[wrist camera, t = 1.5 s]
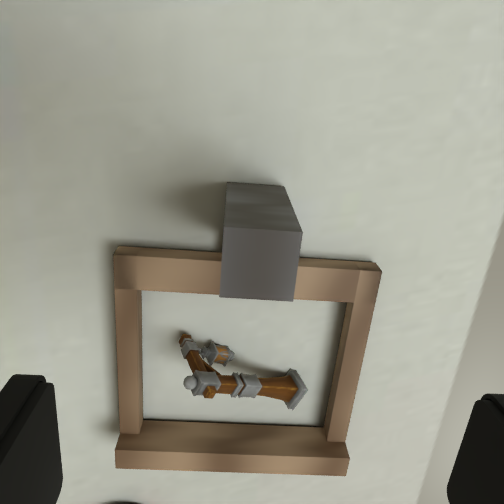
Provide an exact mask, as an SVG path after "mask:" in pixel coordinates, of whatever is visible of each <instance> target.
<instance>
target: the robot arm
mask: <svg viewBox="0 0 504 504" xmlns="http://www.w3.org/2000/svg"><path fill="white" fill-rule="evenodd" d="M62 481H63V473H62V463H61V453H60V442H59V432H58V422H57V411H56V401H55V391H54V385H53V383H46V379H45V377H44V376H42V375H21V374H15V375H13V376H12V377H11V378H10V379H9V381H8V382H7V383H6V385H5V386H4V387H3V389H2V390H1V392H0V504H56V502H57V499H58V497H59V494H60V491H61V487H62ZM447 496H448V500H449V503H450V504H504V394H485V395H483V397H482V398H481V400H477V401H476V402H475V404H474V407H473V410H472V413H471V416H470V419H469V422H468V425H467V428H466V431H465V434H464V437H463V440H462V443H461V446H460V449H459V452H458V455H457V458H456V461H455V464H454V467H453V470H452V473H451V476H450V479H449V482H448V485H447Z"/></svg>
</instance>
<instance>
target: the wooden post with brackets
mask: <svg viewBox="0 0 504 504" xmlns="http://www.w3.org/2000/svg"><path fill="white" fill-rule="evenodd" d="M178 342H179V344H180V347H182V349H181V352H182V354H183V357H184V359H187V361H188V363H189V366H190V368H191V370H192V373H193V375H192V376H187V377H186V378H185V379H184V386H185V388H186V389H189V390H191V391H192V393H193V396H196V395H203V396H204V398H213V397H214V395H215V394H216V393H223V394H230V395H231V397H236V396H237V395H238V397H239V398H240V397H252V398H255V396H256V395H260V396H267V397H271V398H275V399H280V400H283V401H284V402H285V404H286V405H287V407H288V409H292V410H294V408H295V407H296V406H297V404H298V403H299V402H300V400H301V399H302V397H303V396H304V395H305V393H306V392H307V391H308V389H307V387H306V386H305V384H304V382H303V381H302V379H301V378H300V376H299V374H298V373H297V371H296V370H291V369H290V370H289V371H288V373H287V374H286V376H283V377H271V378H258V377H257V375H256V374H255V375H246V374H243V373H241V374H240V375H238V373H234V372H233V374H232V375H231V376H229V375H221V374H220V373H218V372H217V371H216V370H215V369H213V368H212V367H211V365H212V364H213V362H215V363H219V364H223V365H224V366H225V365H226V364H227V362H228V361H231V360H233V359H234V353H233V352H232V351H230V350H229V348H228V346H220V345H215V343H214V341H212V342H211V344H210V345H209V347H207V348H206V347H205V345H204V347H203V349H200V348H198V347H197V345H196V342H193V339H192V338H191V335H187V334H183V335H182V336H181V338H180V340H179V341H178ZM199 350H200V351H199ZM199 353H200V354H201V355H202V358H203V359H204V358H205V357H206V358H207V360H208V363H209V365H208V364H207V363H206V362H205V361H204V360H202V358H201V357H200V355H199Z"/></svg>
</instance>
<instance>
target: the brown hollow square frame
mask: <svg viewBox="0 0 504 504" xmlns="http://www.w3.org/2000/svg"><path fill="white" fill-rule="evenodd" d="M302 233H303V232H302V229H301V227H300V224H299V222H298V219H297V217H296V215H295V212H294V210H293V207H292V205H291V202H290V200H289V197H288V195H287V192H286V190H285V187H284V186H270V185H257V184H244V183H230V182H227V192H226V204H225V217H224V231H223V246H222V253H218V252H203V251H188V250H172V249H157V248H141V247H126V246H118V248H117V249H116V251H115V252H114V254H113V264H114V290H115V316H116V342H117V368H118V393H119V419H120V435H119V438H118V442H117V445H116V448H115V465H116V468H122V469H151V470H181V471H210V472H240V473H269V474H299V475H328V476H346V473H347V469H348V464H349V460H350V457H349V454H348V451H347V447H346V444H345V440H346V436H347V431H348V426H349V422H350V417H351V413H352V408H353V403H354V399H355V394H356V390H357V385H358V380H359V376H360V371H361V367H362V362H363V357H364V353H365V348H366V344H367V339H368V334H369V330H370V325H371V320H372V316H373V311H374V307H375V302H376V297H377V293H378V288H379V284H380V279H381V274H382V271H381V269H380V268H379V267H378V265H377V264H376V263H372V262H357V261H341V260H326V259H311V258H299V255H300V248H301V241H302ZM141 290H148V291H164V292H181V293H198V294H215V295H219V297H225V298H242V299H259V300H276V301H293V299H300V300H317V301H334V302H347V306H346V311H345V317H344V322H343V327H342V332H341V338H340V343H339V348H338V354H337V359H336V364H335V369H334V375H333V380H332V385H331V391H330V396H329V401H328V406H327V412H326V417H325V422H324V427H323V428H321V427H297V426H272V425H248V424H223V423H198V422H174V421H149V420H143V376H142V296H141Z"/></svg>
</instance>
